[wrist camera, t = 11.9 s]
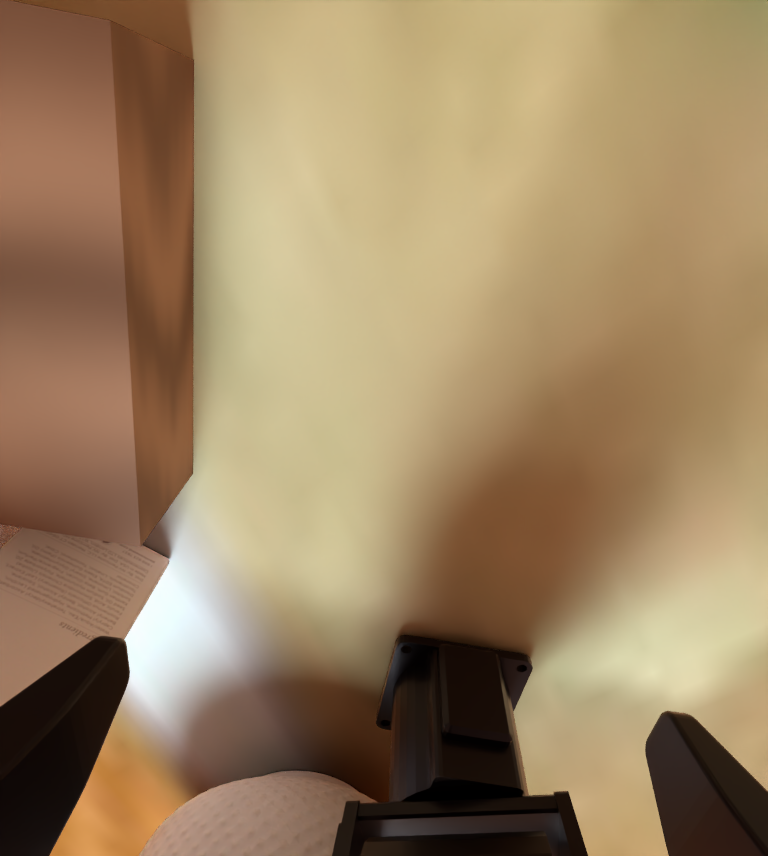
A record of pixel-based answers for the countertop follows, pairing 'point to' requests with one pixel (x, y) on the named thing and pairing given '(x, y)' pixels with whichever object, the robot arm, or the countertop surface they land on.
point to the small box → (65, 599)
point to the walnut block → (94, 275)
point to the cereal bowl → (258, 818)
